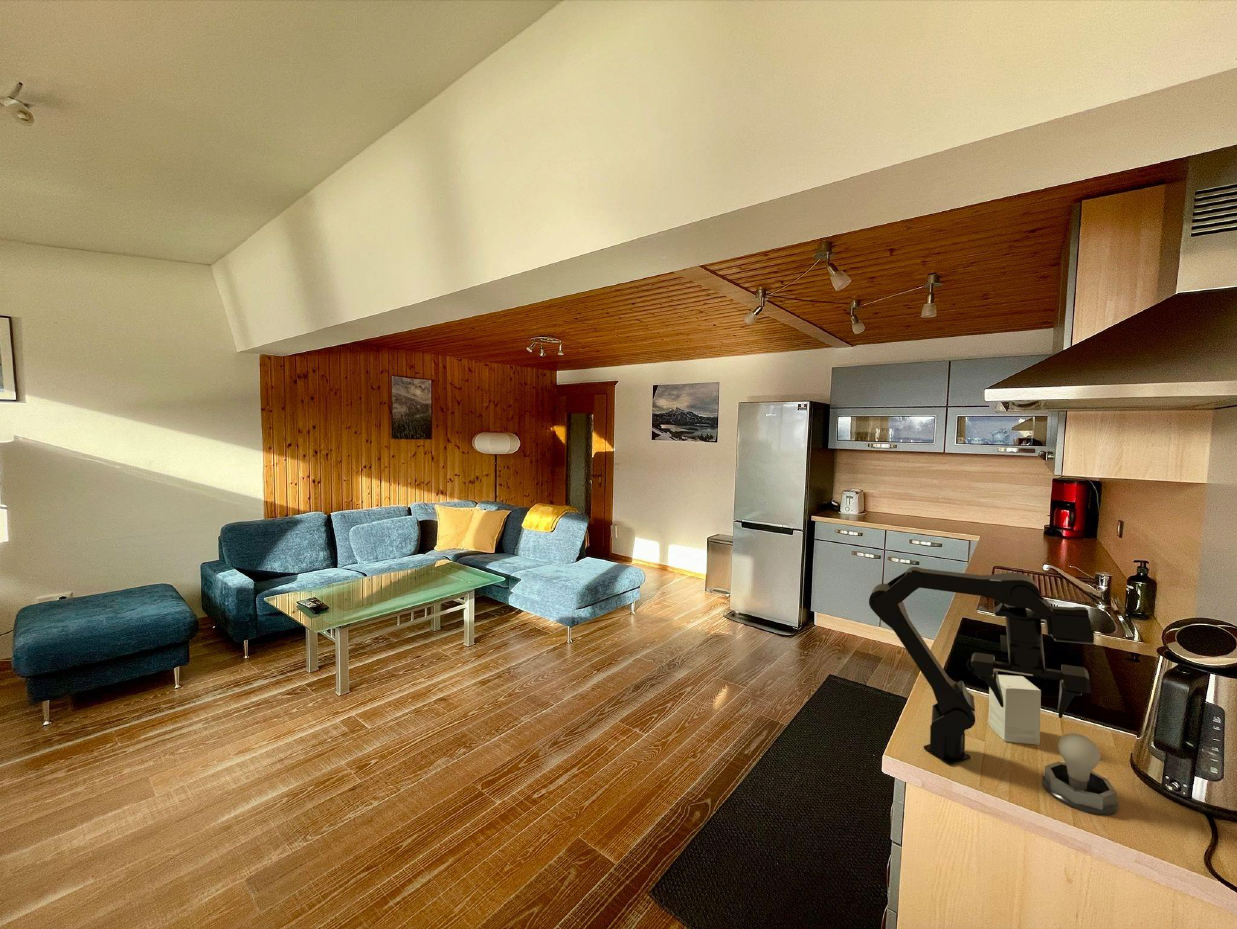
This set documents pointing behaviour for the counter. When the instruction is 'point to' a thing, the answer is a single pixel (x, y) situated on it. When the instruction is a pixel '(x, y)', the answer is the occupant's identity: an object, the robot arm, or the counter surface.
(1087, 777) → the lightbulb
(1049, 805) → the counter surface
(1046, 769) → the collar
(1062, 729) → the counter surface
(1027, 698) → the supplement box
